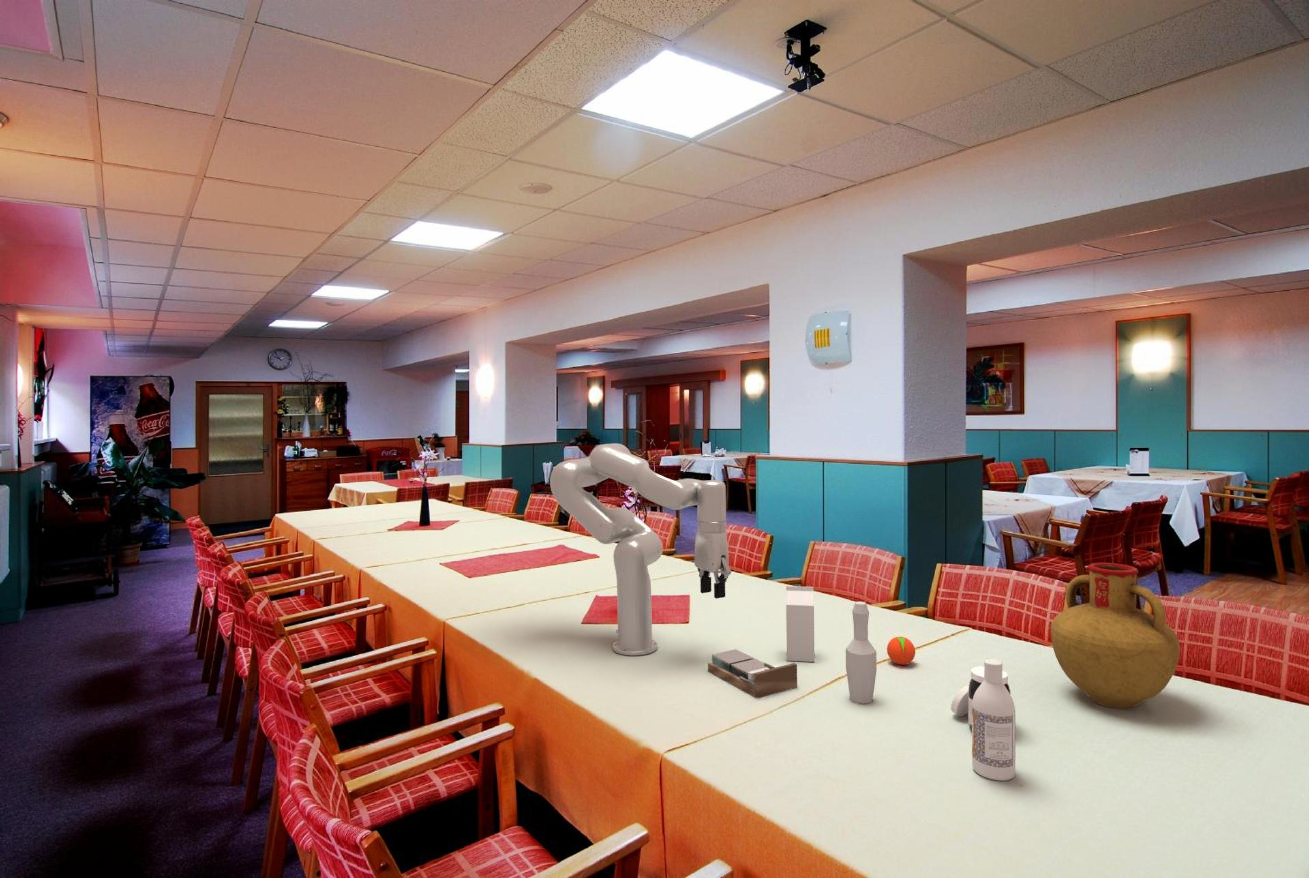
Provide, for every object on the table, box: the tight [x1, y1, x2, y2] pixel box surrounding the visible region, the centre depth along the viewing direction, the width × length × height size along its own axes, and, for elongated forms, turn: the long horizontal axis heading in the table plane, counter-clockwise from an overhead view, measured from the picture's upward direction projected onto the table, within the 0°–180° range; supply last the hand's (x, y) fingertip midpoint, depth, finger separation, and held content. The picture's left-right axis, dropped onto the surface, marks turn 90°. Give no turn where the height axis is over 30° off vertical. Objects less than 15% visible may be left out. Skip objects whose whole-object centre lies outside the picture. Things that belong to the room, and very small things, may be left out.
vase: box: [1050, 562, 1181, 709], centre depth 152 cm, size 24×24×30 cm
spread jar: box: [950, 665, 1012, 729], centre depth 142 cm, size 12×11×12 cm
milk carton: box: [785, 585, 816, 663], centre depth 183 cm, size 7×7×19 cm
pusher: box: [748, 664, 782, 683], centre depth 164 cm, size 1×9×4 cm, turn 120°
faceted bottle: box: [845, 601, 878, 705], centre depth 155 cm, size 6×6×22 cm
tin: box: [711, 648, 755, 673], centre depth 176 cm, size 8×8×4 cm
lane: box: [707, 662, 798, 699], centre depth 168 cm, size 20×12×6 cm, turn 30°
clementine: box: [886, 636, 916, 666], centre depth 176 cm, size 8×7×7 cm
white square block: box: [731, 658, 766, 680], centre depth 168 cm, size 8×8×4 cm
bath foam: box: [971, 658, 1016, 782], centre depth 123 cm, size 7×7×20 cm
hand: (712, 594), depth 182 cm, fingers open, 5 cm apart
